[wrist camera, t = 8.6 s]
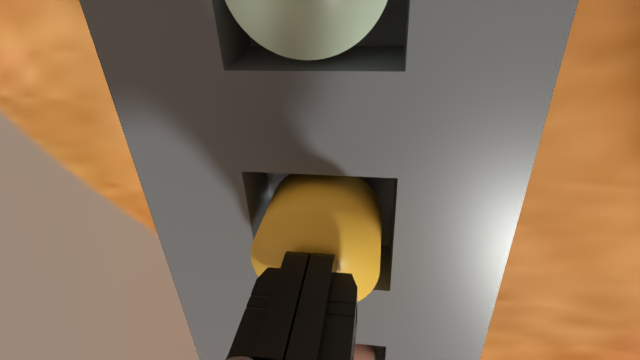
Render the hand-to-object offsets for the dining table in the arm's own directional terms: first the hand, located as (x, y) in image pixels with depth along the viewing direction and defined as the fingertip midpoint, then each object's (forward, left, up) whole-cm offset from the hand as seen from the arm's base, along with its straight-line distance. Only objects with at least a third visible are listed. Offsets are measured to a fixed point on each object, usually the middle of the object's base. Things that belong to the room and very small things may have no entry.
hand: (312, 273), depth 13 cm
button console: (0, 0, -5) cm, 5 cm away
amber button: (0, 0, -3) cm, 3 cm away
